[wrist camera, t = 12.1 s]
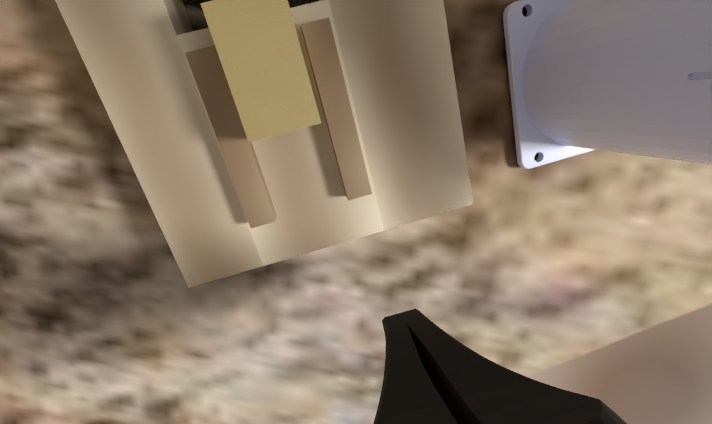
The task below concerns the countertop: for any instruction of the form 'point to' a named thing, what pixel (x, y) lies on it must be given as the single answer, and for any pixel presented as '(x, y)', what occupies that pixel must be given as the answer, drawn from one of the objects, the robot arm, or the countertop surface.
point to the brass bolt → (262, 65)
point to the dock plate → (288, 150)
